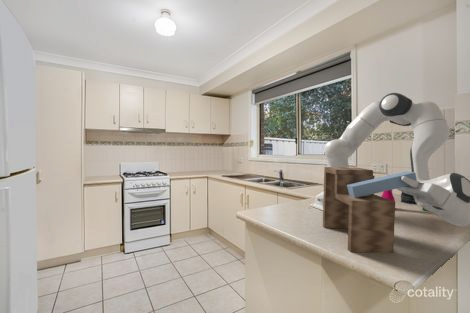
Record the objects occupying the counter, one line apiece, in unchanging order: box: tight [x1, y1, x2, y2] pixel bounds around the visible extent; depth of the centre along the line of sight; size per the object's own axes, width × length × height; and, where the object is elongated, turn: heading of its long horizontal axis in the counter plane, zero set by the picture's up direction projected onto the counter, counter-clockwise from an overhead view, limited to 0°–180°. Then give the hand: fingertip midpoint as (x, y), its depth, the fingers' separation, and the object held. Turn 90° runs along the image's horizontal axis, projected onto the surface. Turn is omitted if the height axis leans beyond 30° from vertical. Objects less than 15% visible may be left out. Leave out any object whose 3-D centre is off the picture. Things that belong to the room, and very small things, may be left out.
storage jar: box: [400, 192, 418, 205], centre depth 150 cm, size 10×10×15 cm
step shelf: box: [322, 166, 396, 254], centre depth 88 cm, size 14×25×26 cm, turn 179°
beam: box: [347, 170, 417, 198], centre depth 82 cm, size 22×4×4 cm, turn 89°
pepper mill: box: [380, 173, 396, 202], centre depth 134 cm, size 7×7×20 cm
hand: (396, 176), depth 82 cm, fingers closed on beam, 4 cm apart
